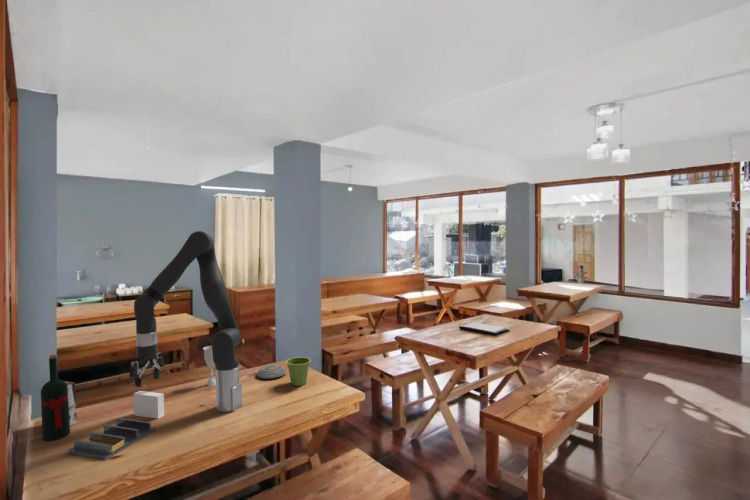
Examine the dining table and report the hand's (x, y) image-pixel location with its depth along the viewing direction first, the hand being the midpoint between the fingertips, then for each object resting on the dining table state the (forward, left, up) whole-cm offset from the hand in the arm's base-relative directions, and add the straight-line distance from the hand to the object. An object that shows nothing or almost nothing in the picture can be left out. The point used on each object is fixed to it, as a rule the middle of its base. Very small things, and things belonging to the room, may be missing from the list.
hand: (147, 382), depth 158 cm
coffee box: (+27, +15, -14) cm, 34 cm away
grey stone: (-25, -52, -14) cm, 59 cm away
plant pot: (-44, -45, -14) cm, 64 cm away
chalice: (-3, -34, -14) cm, 37 cm away
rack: (-4, +19, -13) cm, 24 cm away
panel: (0, 0, -13) cm, 13 cm away
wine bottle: (+19, +22, -14) cm, 32 cm away
